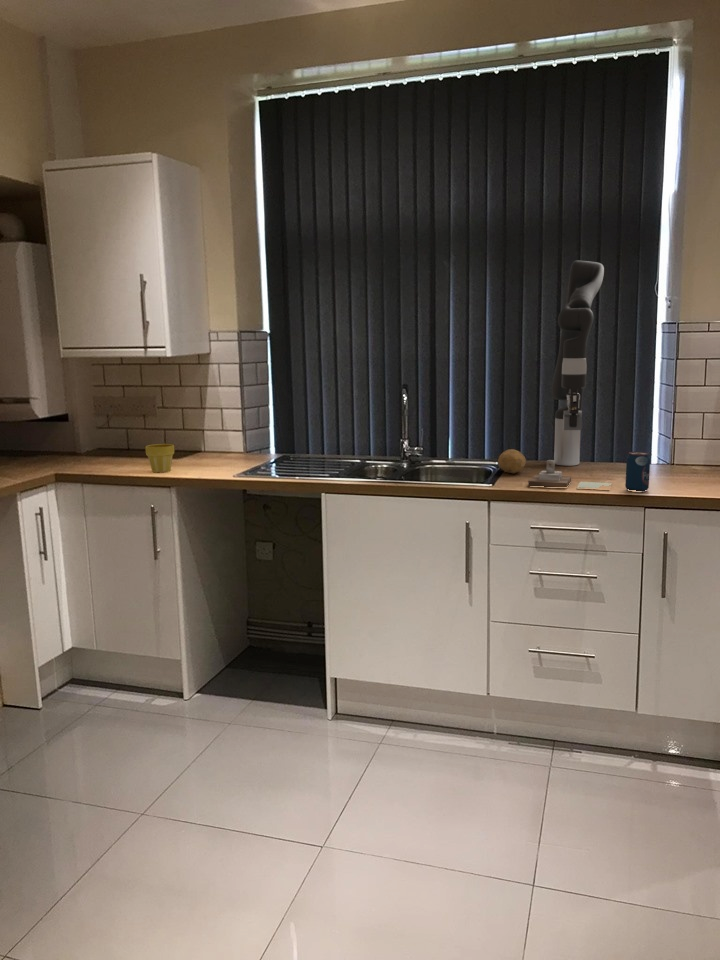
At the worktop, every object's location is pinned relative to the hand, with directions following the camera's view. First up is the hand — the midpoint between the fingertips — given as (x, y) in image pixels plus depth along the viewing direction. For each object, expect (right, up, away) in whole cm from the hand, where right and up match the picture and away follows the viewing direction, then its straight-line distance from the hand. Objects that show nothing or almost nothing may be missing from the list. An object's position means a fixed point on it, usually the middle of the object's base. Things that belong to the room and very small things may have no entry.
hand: (572, 425), depth 258 cm
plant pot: (-142, -14, +44) cm, 149 cm away
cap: (0, -1, 0) cm, 1 cm away
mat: (+7, -20, +1) cm, 21 cm away
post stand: (-6, -19, +6) cm, 21 cm away
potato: (-14, -15, +29) cm, 35 cm away
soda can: (+19, -21, -5) cm, 29 cm away
